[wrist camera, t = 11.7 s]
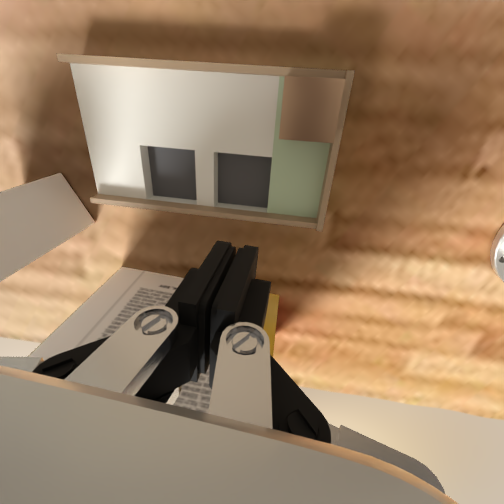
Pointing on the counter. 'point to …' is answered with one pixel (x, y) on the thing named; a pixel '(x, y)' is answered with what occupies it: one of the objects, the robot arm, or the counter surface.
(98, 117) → the board
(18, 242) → the milk carton
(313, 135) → the walnut block
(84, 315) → the cereal box
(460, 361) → the counter surface
